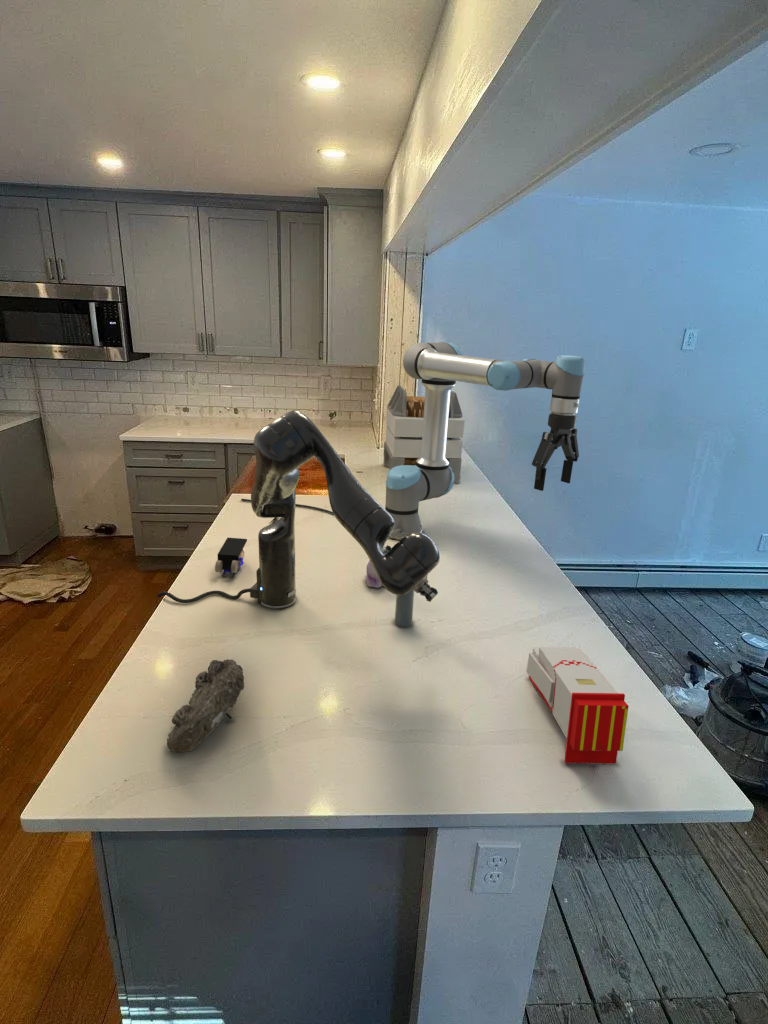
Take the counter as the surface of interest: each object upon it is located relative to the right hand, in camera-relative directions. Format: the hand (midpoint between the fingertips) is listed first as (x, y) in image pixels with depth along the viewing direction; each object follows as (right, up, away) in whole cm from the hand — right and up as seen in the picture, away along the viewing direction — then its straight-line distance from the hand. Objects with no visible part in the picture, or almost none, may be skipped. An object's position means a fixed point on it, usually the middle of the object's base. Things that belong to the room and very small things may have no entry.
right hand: (552, 485), depth 166 cm
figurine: (-51, -28, -1) cm, 58 cm away
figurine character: (-94, -25, +2) cm, 97 cm away
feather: (-88, -9, +47) cm, 101 cm away
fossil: (-82, -47, -57) cm, 110 cm away
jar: (-44, -36, -22) cm, 61 cm away
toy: (-13, -48, -52) cm, 72 cm away
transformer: (-32, +11, +109) cm, 115 cm away
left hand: (-44, -21, -43) cm, 65 cm away
